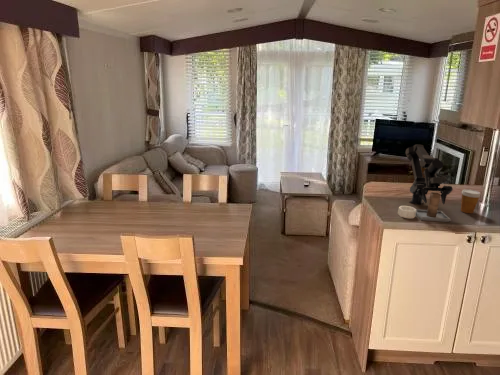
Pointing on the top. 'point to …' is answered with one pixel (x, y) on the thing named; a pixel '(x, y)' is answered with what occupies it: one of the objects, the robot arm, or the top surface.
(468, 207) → the disposable coffee cup
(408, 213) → the white nut
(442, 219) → the tray
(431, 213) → the dowel peg
